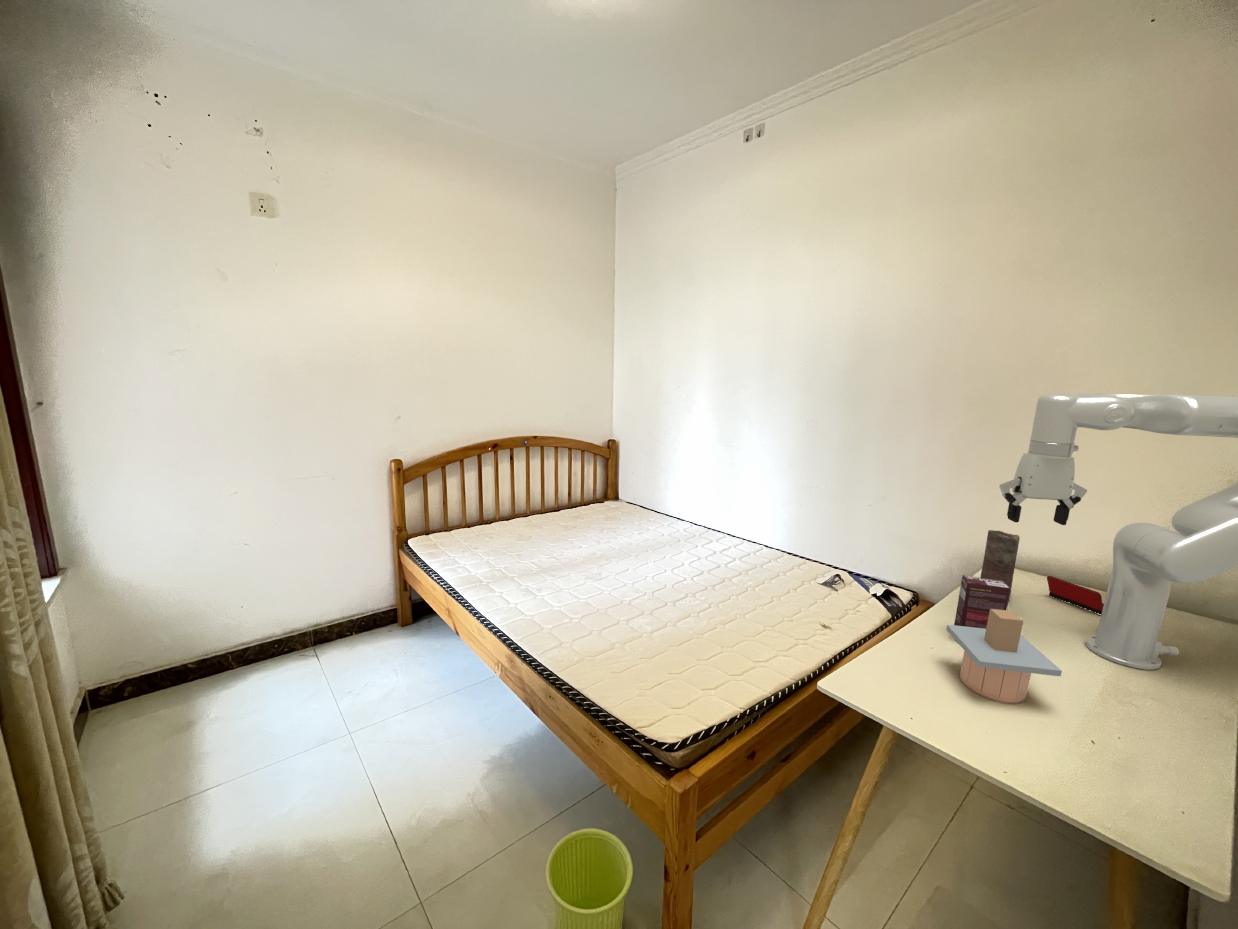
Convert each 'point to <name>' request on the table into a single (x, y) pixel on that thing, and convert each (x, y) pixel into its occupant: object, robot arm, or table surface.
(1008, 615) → the cover
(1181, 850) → the table surface
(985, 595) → the supplement box
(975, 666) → the bowl
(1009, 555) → the brown stone block
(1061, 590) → the red slanted piece
